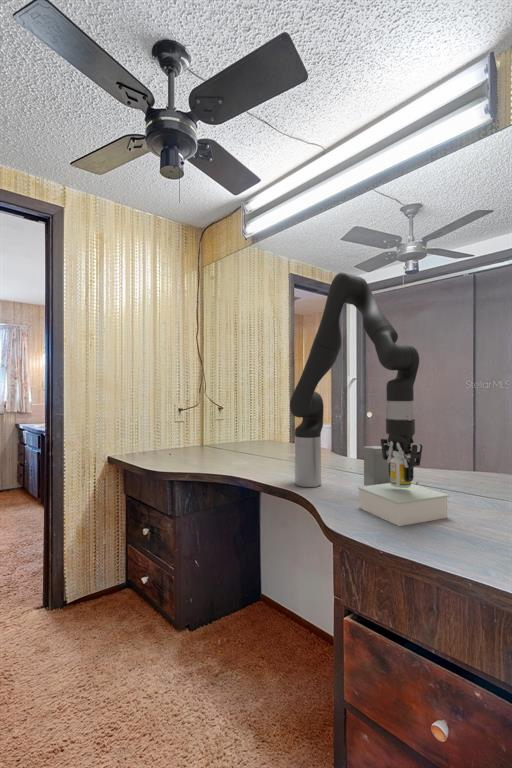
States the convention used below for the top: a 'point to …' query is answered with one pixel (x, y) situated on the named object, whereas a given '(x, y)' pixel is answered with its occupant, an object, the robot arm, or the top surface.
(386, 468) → the skincare box
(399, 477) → the supplement bottle
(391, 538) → the top surface
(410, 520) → the podium
